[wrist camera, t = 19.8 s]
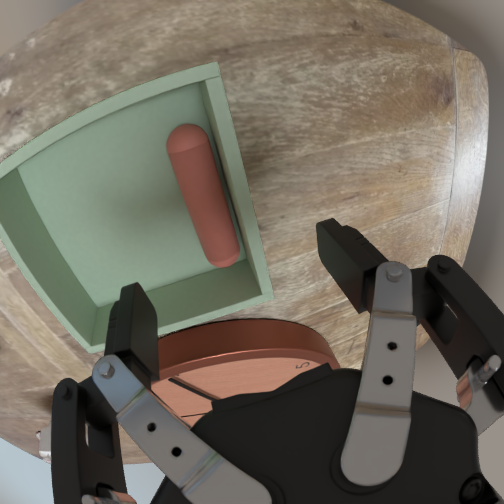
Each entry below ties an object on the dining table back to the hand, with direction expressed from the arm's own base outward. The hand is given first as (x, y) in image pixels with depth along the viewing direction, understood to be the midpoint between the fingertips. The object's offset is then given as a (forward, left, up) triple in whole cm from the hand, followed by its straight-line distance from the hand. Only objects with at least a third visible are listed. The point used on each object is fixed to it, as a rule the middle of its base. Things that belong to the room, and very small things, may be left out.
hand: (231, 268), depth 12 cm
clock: (+29, -7, -10) cm, 31 cm away
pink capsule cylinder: (0, 0, -9) cm, 9 cm away
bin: (0, -6, -9) cm, 11 cm away
